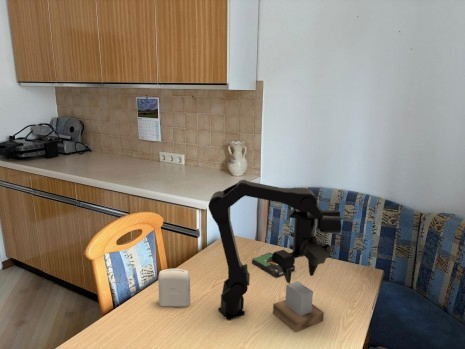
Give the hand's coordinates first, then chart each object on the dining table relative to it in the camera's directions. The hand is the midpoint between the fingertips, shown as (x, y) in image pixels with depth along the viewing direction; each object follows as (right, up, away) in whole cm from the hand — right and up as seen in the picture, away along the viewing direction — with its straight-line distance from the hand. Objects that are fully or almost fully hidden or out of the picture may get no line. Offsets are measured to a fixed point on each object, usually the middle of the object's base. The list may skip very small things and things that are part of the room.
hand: (300, 279), depth 109 cm
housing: (0, -10, +2) cm, 10 cm away
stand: (0, -13, +3) cm, 13 cm away
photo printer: (-40, -11, +8) cm, 42 cm away
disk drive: (-4, -6, +34) cm, 35 cm away
